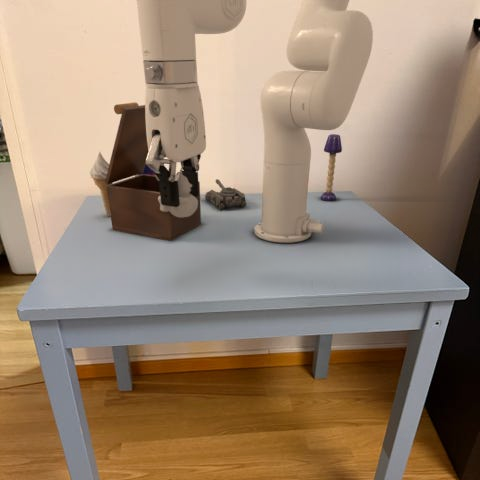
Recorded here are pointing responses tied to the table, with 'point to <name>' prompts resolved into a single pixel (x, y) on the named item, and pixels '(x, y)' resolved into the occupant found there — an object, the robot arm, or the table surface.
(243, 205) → the tank toy
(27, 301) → the table surface
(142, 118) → the chest lid
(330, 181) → the toy lamp
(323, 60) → the robot arm
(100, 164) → the ice cream cone
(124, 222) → the chest
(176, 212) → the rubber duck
